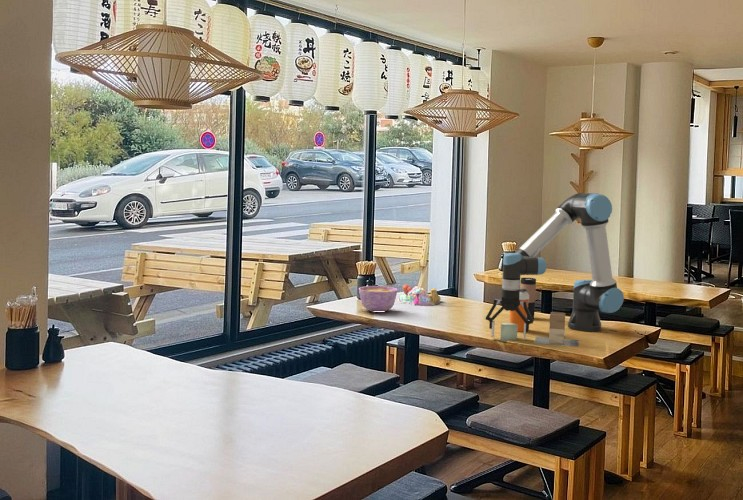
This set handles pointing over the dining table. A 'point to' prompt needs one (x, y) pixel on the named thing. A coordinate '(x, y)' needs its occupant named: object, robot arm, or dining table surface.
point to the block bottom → (556, 335)
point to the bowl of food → (377, 297)
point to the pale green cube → (508, 331)
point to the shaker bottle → (514, 315)
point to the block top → (557, 320)
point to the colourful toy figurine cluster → (419, 296)
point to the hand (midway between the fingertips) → (508, 337)
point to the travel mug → (530, 293)
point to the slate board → (566, 343)
